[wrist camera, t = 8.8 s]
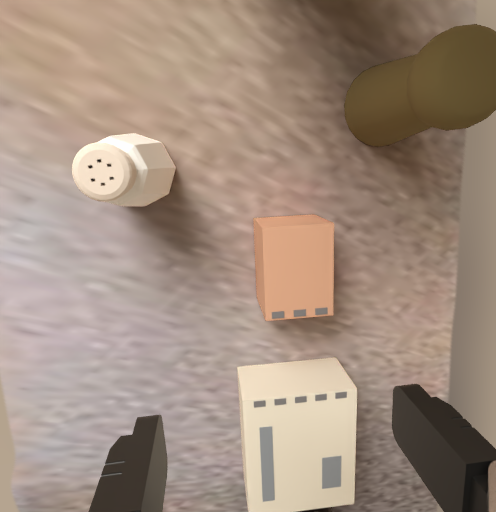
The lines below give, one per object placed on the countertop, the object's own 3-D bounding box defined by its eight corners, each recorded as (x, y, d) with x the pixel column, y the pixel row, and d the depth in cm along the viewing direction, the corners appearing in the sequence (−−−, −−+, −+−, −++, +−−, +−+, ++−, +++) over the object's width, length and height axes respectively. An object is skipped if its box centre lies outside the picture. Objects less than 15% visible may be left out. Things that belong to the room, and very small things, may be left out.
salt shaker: (180, 202, 29) (166, 222, 19) (110, 209, 29) (54, 233, 18) (171, 130, 28) (150, 108, 17) (97, 136, 28) (29, 116, 17)
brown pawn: (430, 118, 30) (553, 91, 19) (367, 161, 30) (454, 158, 20) (396, 48, 28) (509, -24, 18) (330, 94, 29) (402, 51, 18)
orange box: (253, 218, 30) (262, 227, 25) (314, 214, 31) (334, 223, 26) (256, 297, 32) (265, 321, 27) (314, 292, 32) (333, 315, 27)
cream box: (237, 366, 33) (242, 401, 28) (335, 357, 34) (357, 389, 29) (243, 470, 36) (249, 518, 31) (334, 459, 37) (354, 504, 32)
